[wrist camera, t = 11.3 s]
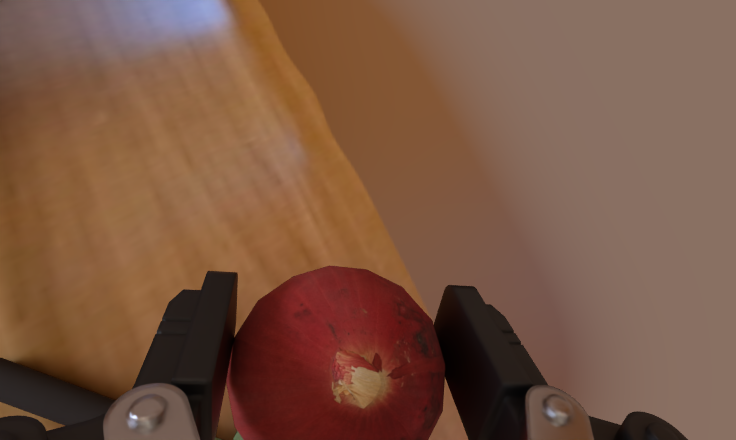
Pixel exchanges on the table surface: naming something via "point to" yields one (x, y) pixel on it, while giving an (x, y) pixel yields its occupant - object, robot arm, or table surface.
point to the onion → (336, 362)
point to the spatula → (51, 396)
